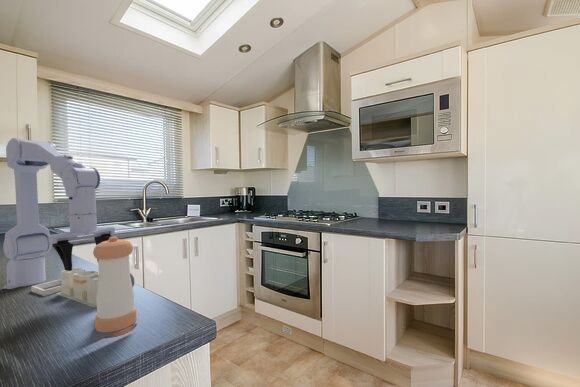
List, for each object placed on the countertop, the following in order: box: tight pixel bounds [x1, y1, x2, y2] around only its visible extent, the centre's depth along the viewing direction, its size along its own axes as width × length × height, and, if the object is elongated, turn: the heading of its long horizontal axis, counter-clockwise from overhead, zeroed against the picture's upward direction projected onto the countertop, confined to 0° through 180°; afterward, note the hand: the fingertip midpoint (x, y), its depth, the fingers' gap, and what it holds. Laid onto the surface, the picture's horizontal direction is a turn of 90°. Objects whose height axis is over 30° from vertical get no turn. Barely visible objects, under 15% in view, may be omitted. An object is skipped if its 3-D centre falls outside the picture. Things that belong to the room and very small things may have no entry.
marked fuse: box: [73, 269, 99, 300], centre depth 75 cm, size 4×4×6 cm
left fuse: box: [60, 266, 86, 296], centre depth 79 cm, size 4×4×6 cm
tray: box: [30, 278, 62, 297], centre depth 81 cm, size 8×8×3 cm
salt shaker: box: [92, 235, 138, 339], centre depth 60 cm, size 7×7×19 cm
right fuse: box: [86, 274, 99, 305], centre depth 72 cm, size 4×4×6 cm
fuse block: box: [55, 287, 97, 308], centre depth 75 cm, size 19×6×3 cm, turn 60°
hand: (85, 266), depth 75 cm, fingers open, 7 cm apart
